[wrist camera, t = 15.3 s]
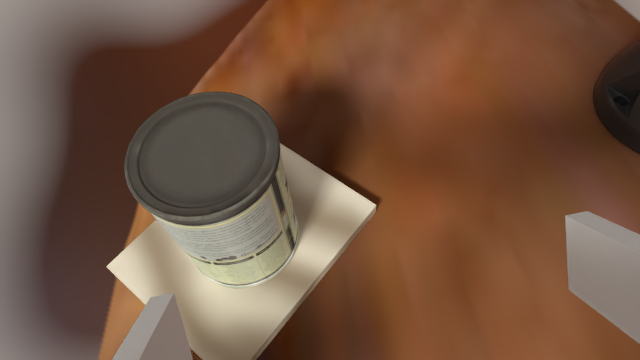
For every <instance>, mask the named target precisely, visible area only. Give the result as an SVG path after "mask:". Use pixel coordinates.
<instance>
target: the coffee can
mask: <svg viewBox="0 0 640 360" xmlns="http://www.w3.org/2000/svg"><path fill="white" fill-rule="evenodd" d="M125 177H126V181H127V184H128V187H129V189H130V191H131V192H132V194H133V196H134V197H135V198H136V200H137V201H138V202H139V203H140V204H141V205H142V206H143V207H144V208H145V209H146V210H148V211H149V212H150V213H151V214H152V215H153V216H154V217H155V219H156V220H157V221H158V222H159V223H160V224H161V225H162V227H163V228H164V229H165V230H166V231H167V232H168V233H169V235H170V236H171V237H172V238H173V239H174V240H175V241H176V243H177V244H178V245H179V246H180V247H181V248H182V249H183V251H184V252H185V253H186V254H187V255H188V256H189V258H190V259H191V260H192V261H193V262H194V263H195V264H196V266H197V268H198V269H199V271H200V272H201V273H202V274H203V275H204V276H205V277H207V278H208V279H209V280H211V281H212V282H214V283H216V284H219V285H221V286H224V287H229V288H235V289H238V288H249V287H254V286H257V285H260V284H262V283H265V282H267V281H269V280H270V279H272V278H273V277H275V276H276V275H278V274H279V273H280V272H281V271H282V270H283V269H284V268H285V267H286V266H287V264H288V263H289V262H290V260H291V259H292V257H293V255H294V253H295V251H296V248H297V245H298V240H299V225H298V220H297V217H296V215H295V211H294V207H293V203H292V199H291V195H290V191H289V186H288V182H287V178H286V173H285V169H284V165H283V161H282V157H281V153H280V140H279V134H278V130H277V127H276V125H275V123H274V121H273V119H272V117H271V116H270V115H269V114H268V112H267V111H266V110H265V109H264V108H262V107H261V106H260V105H259V104H257V103H256V102H254V101H252V100H251V99H249V98H246V97H244V96H241V95H238V94H234V93H227V92H203V93H197V94H192V95H189V96H186V97H183V98H180V99H177V100H175V101H173V102H171V103H169V104H167V105H166V106H164V107H162V108H161V109H159V110H158V111H157V112H155V113H154V114H153V115H151V116H150V117H149V118H148V119H147V120H146V121H145V122H144V123H143V124H142V125H141V127H140V128H139V129H138V131H137V132H136V134H135V135H134V137H133V139H132V140H131V142H130V144H129V147H128V150H127V154H126V159H125Z"/></svg>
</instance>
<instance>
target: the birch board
mask: <svg viewBox="0 0 640 360" xmlns="http://www.w3.org/2000/svg"><path fill="white" fill-rule="evenodd" d="M280 153H281V157H282V161H283V165H284V169H285V173H286V178H287V182H288V186H289V191H290V195H291V199H292V203H293V207H294V211H295V215H296V217H297V220H298V225H299V240H298V245H297V248H296V251H295V253H294V255H293V257H292V259H291V260H290V262H289V263H288V264H287V266H286V267H285V268H284V269H283V270H282V271H281V272H280V273H279V274H278V275H276V276H275V277H273V278H272V279H270V280H269V281H267V282H265V283H262V284H260V285H257V286H254V287H249V288H238V289H235V288H229V287H224V286H221V285H219V284H216V283H214V282H212V281H211V280H209V279H208V278H207V277H205V276H204V275H203V274H202V273H201V272H200V271H199V269H198V268H197V266H196V264H195V263H194V262H193V261H192V260H191V259H190V258H189V256H188V255H187V254H186V253H185V252H184V251H183V249H182V248H181V247H180V246H179V245H178V244H177V243H176V241H175V240H174V239H173V238H172V237H171V236H170V235H169V233H168V232H167V231H166V230H165V229H164V228H163V227H162V225H161V224H160V223H159V222H158V221H157V220H155V221H154V222H153V223H152V224H151V225H150V226H149V227H148V228H147V229H146V230H145V231H144V232H143V233H141V234H140V235H139V236H138V237H137V238H136V239H135V240H134V241H133V242H132V243H131V244H130V245H129V246H128V247H127V248H126V249H125V250H123V251H122V252H121V253H120V254H119V255H118V256H117V257H116V258H115V259H114V260H113V261H112V262H111V263H110V264H109V265H108V266H107V268H108V269H109V270H110V271H111V272H112V273H113V274H114V275H115V276H116V277H117V278H118V279H119V280H120V281H122V282H123V283H124V284H125V285H126V286H127V287H128V288H129V289H130V290H131V291H132V292H133V293H134V294H135V295H136V296H137V297H138V298H139V299H140V300H141V301H142V302H143V303H144V304H145V305H146V304H147V302H148V301H149V299H150V297H155V296H160V295H165V294H170V293H174V295H175V298H176V302H177V305H178V309H179V312H180V316H181V319H182V323H183V326H184V330H185V333H186V337H187V340H188V344H189V347H190V348H191V349H192V350H193V351H194V352H195V353H196V354H197V355H198V356H199V357H200V358H201V359H202V360H257V358H258V357H259V356H260V355H261V353H262V352H263V351H264V350H265V348H266V347H267V346H268V345H269V344H270V342H271V341H272V340H273V339H274V337H275V336H276V335H277V334H278V332H279V331H280V330H281V329H282V327H283V326H284V325H285V324H286V322H287V321H288V320H289V319H290V318H291V316H292V315H293V314H294V313H295V311H296V310H297V309H298V308H299V306H300V305H301V304H302V303H303V301H304V300H305V299H306V298H307V297H308V295H309V294H310V293H311V292H312V290H313V289H314V288H315V287H316V285H317V284H318V283H319V282H320V280H321V279H322V278H323V277H324V276H325V274H326V273H327V272H328V271H329V269H330V268H331V267H332V266H333V264H334V263H335V262H336V261H337V259H338V258H339V257H340V256H341V254H342V253H343V252H344V251H345V250H346V248H347V247H348V246H349V245H350V243H351V242H352V241H353V240H354V238H355V237H356V236H357V235H358V233H359V232H360V231H361V230H362V229H363V227H364V226H365V225H366V224H367V222H368V221H369V220H370V219H371V217H372V216H373V215H374V214H375V212H376V205H375V204H374V203H372V202H371V201H369V200H368V199H366V198H365V197H363V196H361V195H360V194H358V193H357V192H355V191H354V190H352V189H351V188H349V187H347V186H346V185H344V184H343V183H341V182H340V181H338V180H337V179H335V178H333V177H332V176H330V175H329V174H327V173H326V172H324V171H323V170H321V169H320V168H318V167H316V166H315V165H313V164H312V163H310V162H309V161H307V160H306V159H304V158H302V157H301V156H299V155H298V154H296V153H295V152H293V151H292V150H290V149H288V148H287V147H285V146H284V145H282V144H281V143H280Z"/></svg>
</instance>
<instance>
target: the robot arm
mask: <svg viewBox="0 0 640 360" xmlns="http://www.w3.org/2000/svg"><path fill="white" fill-rule="evenodd" d="M593 98H594V105H595V108H596V111H597V113H598V115H599V117H600V119H601V121H602V122H603V124H604V125H605V126H606V127H607V129H608V130H609V131H610V132H611V133H612V134H613V135H614V136H615V137H616V138H617V139H619V140H620V141H621V142H622V143H624V144H625V145H627V146H628V147H630V148H631V149H633V150H634V151H636V152H638V153H640V40H639V41H637V42H636V43H634V44H633V45H632V46H630V47H629V48H628V49H626V50H625V51H624V52H622V53H621V54H619V55H618V56H617V57H615V58H614V59H613V60H612V61H611V62H610V63H609V64H608V66H607V67H606V68H605V70H604V71H603V73H602V74H601V76H600V77H599V79H598V81H597V82H596V85H595V88H594V94H593ZM565 219H566V241H567V262H568V284H569V290H570V291H571V292H572V293H574V294H575V295H576V296H578V297H579V298H580V299H581V300H583V301H584V302H585V303H587V304H588V305H589V306H591V307H592V308H593V309H595V310H596V311H597V312H599V313H600V314H601V315H603V316H604V317H605V318H606V319H608V320H609V321H610V322H612V323H613V324H614V325H616V326H617V327H618V328H620V329H621V330H622V331H624V332H625V333H626V334H627V335H629V336H630V337H631V338H633V339H634V340H635V341H637V342H638V343H639V344H640V235H639V234H637V233H635V232H633V231H630V230H628V229H626V228H624V227H622V226H619V225H617V224H615V223H613V222H610V221H608V220H606V219H604V218H602V217H599V216H597V215H595V214H593V213H591V212H588V211H586V212H581V213H576V214H571V215H566V216H565ZM112 360H193V358H192V354H191V351H190V347H189V344H188V340H187V337H186V333H185V330H184V326H183V323H182V319H181V316H180V312H179V309H178V305H177V302H176V298H175V295H174V293H170V294H165V295H160V296H155V297H150V299H149V301H148V302H147V304H146V305H145V307H144V309H143V310H142V312H141V314H140V315H139V317H138V318H137V320H136V322H135V323H134V325H133V326H132V328H131V330H130V331H129V333H128V335H127V336H126V338H125V339H124V341H123V343H122V344H121V346H120V348H119V349H118V351H117V352H116V354H115V356H114V357H113V359H112Z"/></svg>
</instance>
